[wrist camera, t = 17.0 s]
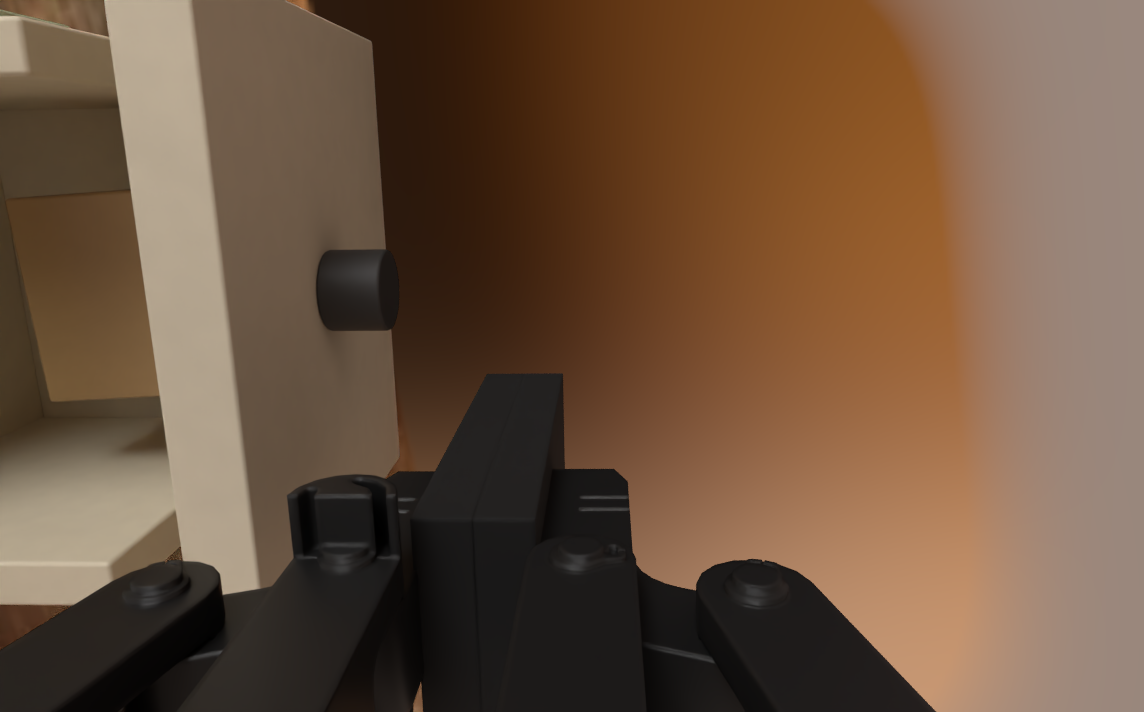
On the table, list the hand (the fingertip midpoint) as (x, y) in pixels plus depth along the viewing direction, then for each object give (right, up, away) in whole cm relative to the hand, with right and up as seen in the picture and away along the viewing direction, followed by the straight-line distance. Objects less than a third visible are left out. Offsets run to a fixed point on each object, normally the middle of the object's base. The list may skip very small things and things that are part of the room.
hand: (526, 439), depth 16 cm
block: (-7, +4, +3) cm, 9 cm away
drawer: (-8, +4, +4) cm, 10 cm away
